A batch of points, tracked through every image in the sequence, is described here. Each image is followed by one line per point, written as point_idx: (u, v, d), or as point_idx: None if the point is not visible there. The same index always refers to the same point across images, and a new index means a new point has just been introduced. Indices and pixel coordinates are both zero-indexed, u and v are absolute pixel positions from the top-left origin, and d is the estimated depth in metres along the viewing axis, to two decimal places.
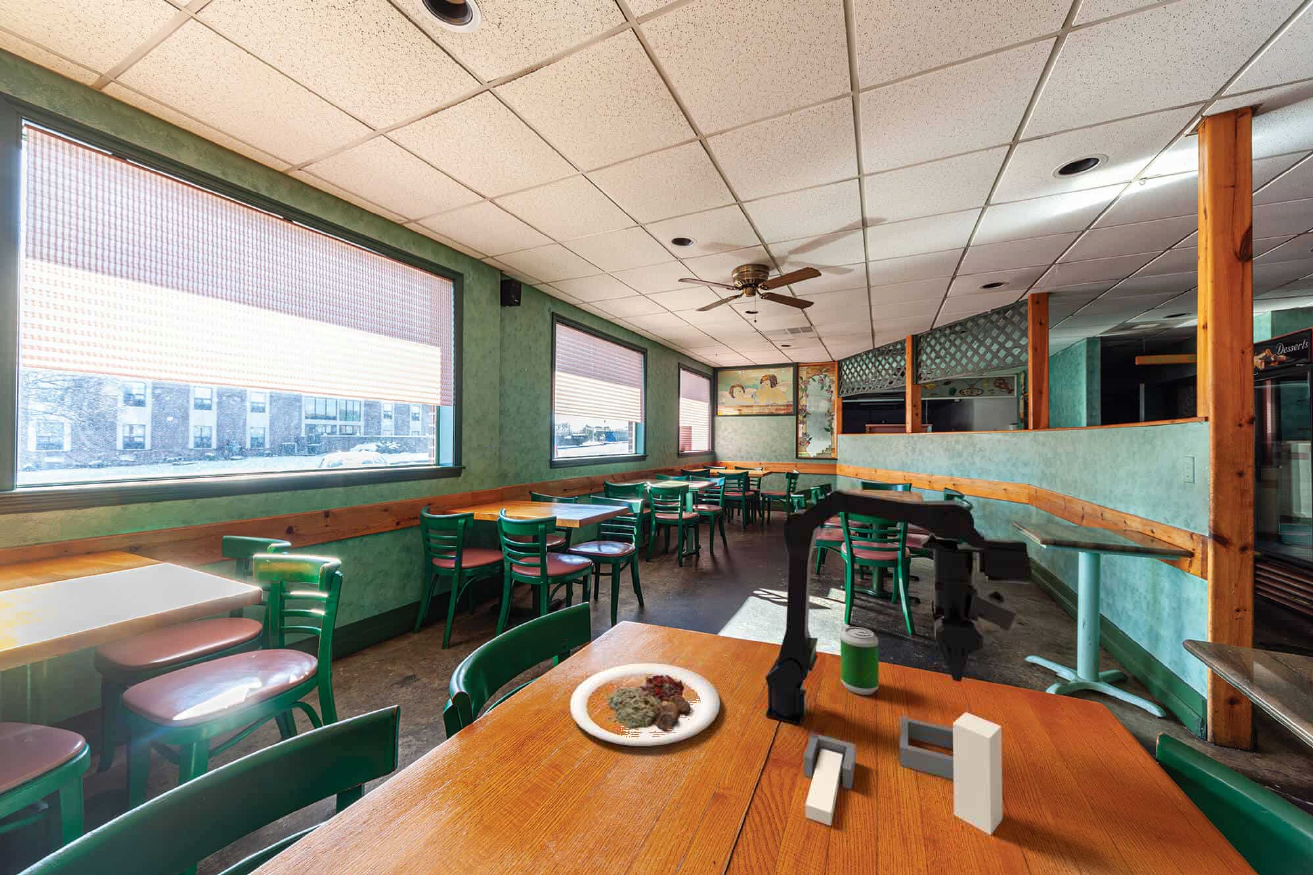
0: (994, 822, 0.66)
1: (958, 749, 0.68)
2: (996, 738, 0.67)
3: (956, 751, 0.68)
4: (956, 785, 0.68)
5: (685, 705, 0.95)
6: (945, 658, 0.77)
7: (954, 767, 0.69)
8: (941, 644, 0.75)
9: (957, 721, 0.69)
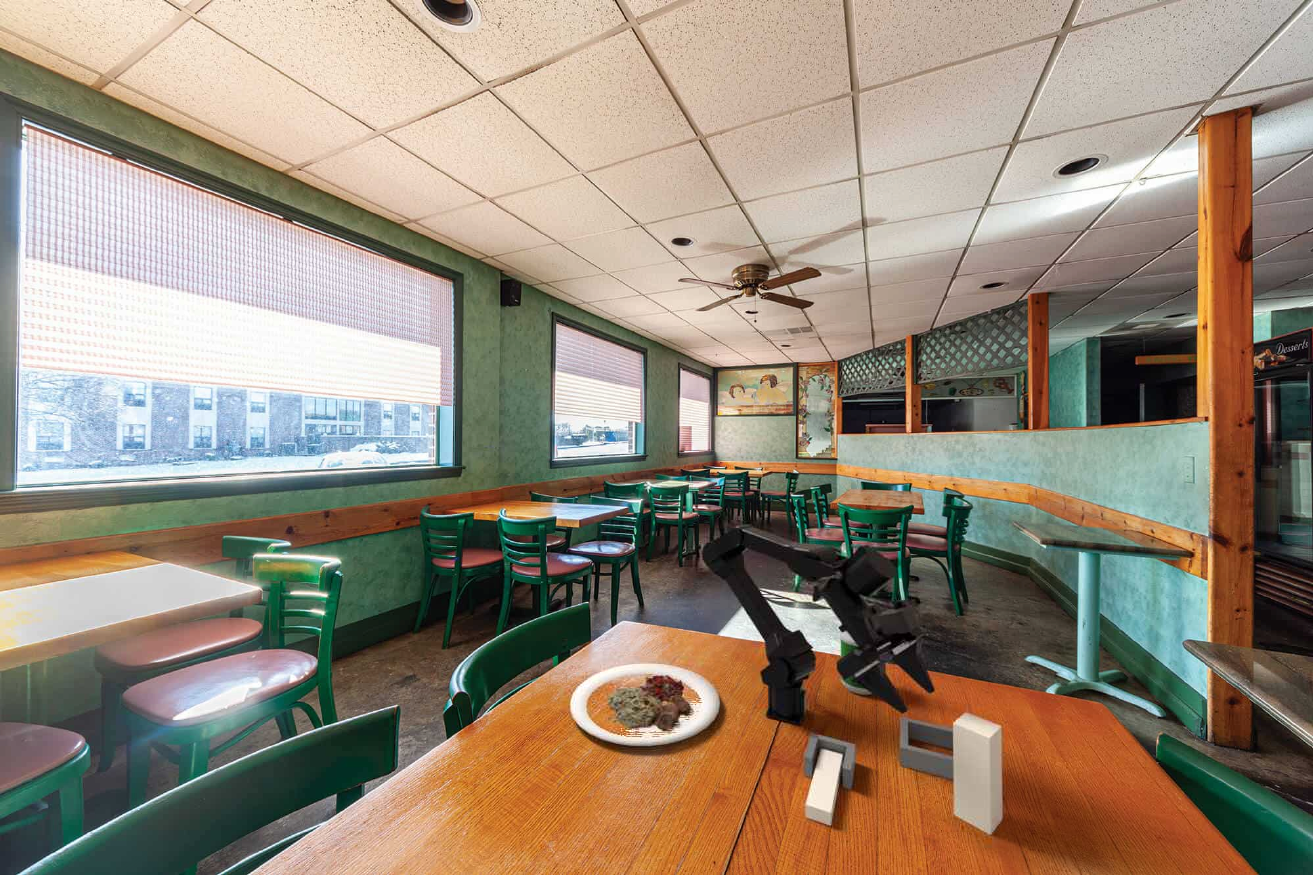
0: (994, 822, 0.66)
1: (958, 749, 0.68)
2: (996, 738, 0.67)
3: (956, 751, 0.68)
4: (956, 785, 0.68)
5: (685, 705, 0.95)
6: (876, 694, 0.74)
7: (954, 767, 0.69)
8: (853, 681, 0.75)
9: (957, 721, 0.69)
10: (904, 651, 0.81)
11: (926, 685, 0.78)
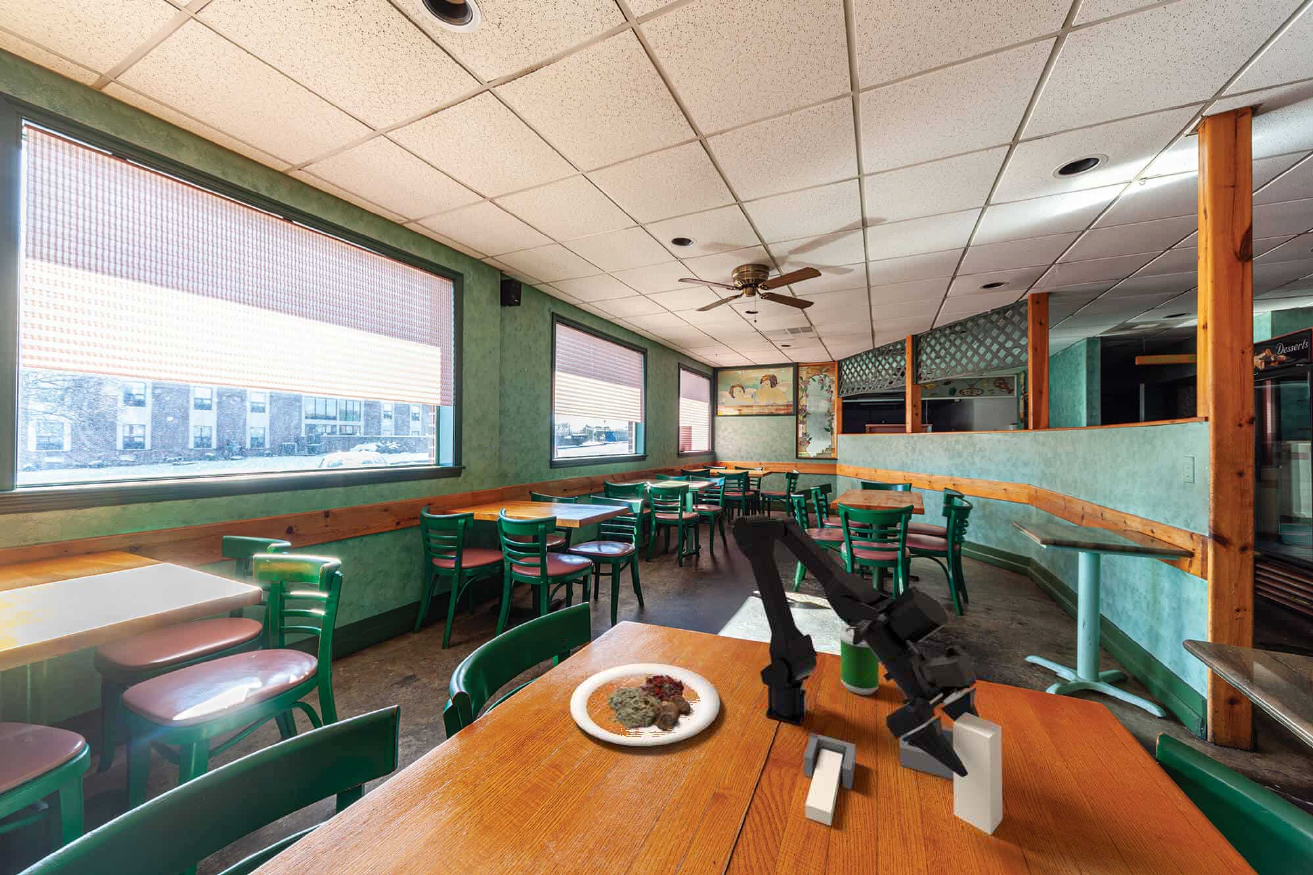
0: (994, 822, 0.66)
1: (958, 749, 0.68)
2: (996, 738, 0.67)
3: (956, 751, 0.68)
4: (956, 785, 0.68)
5: (685, 705, 0.95)
6: (931, 754, 0.68)
7: None
8: (905, 740, 0.68)
9: (957, 721, 0.69)
10: (956, 701, 0.75)
11: None
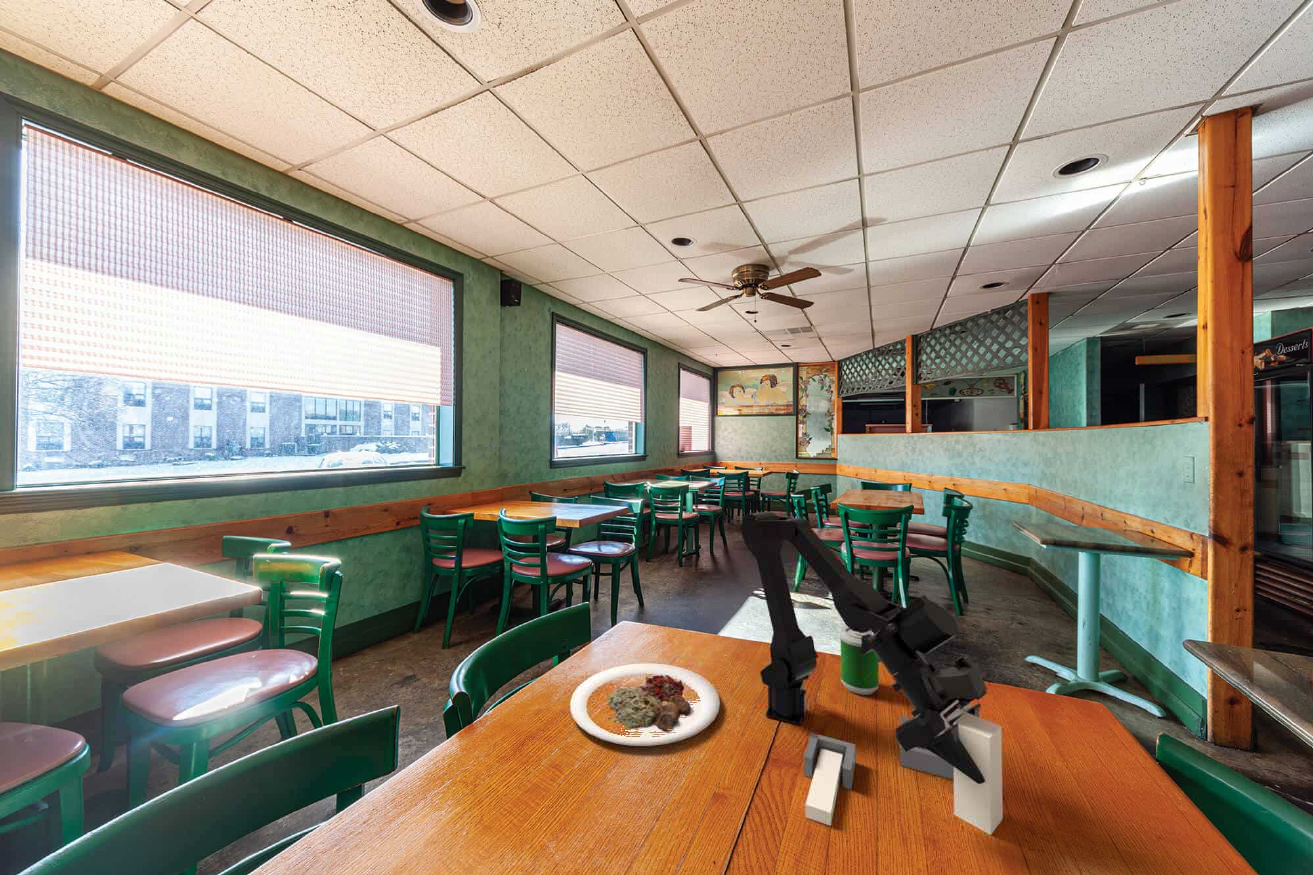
0: (994, 822, 0.66)
1: None
2: (996, 738, 0.67)
3: None
4: (956, 785, 0.68)
5: (685, 705, 0.95)
6: (947, 761, 0.68)
7: (954, 767, 0.68)
8: (922, 746, 0.69)
9: (957, 721, 0.69)
10: None
11: None
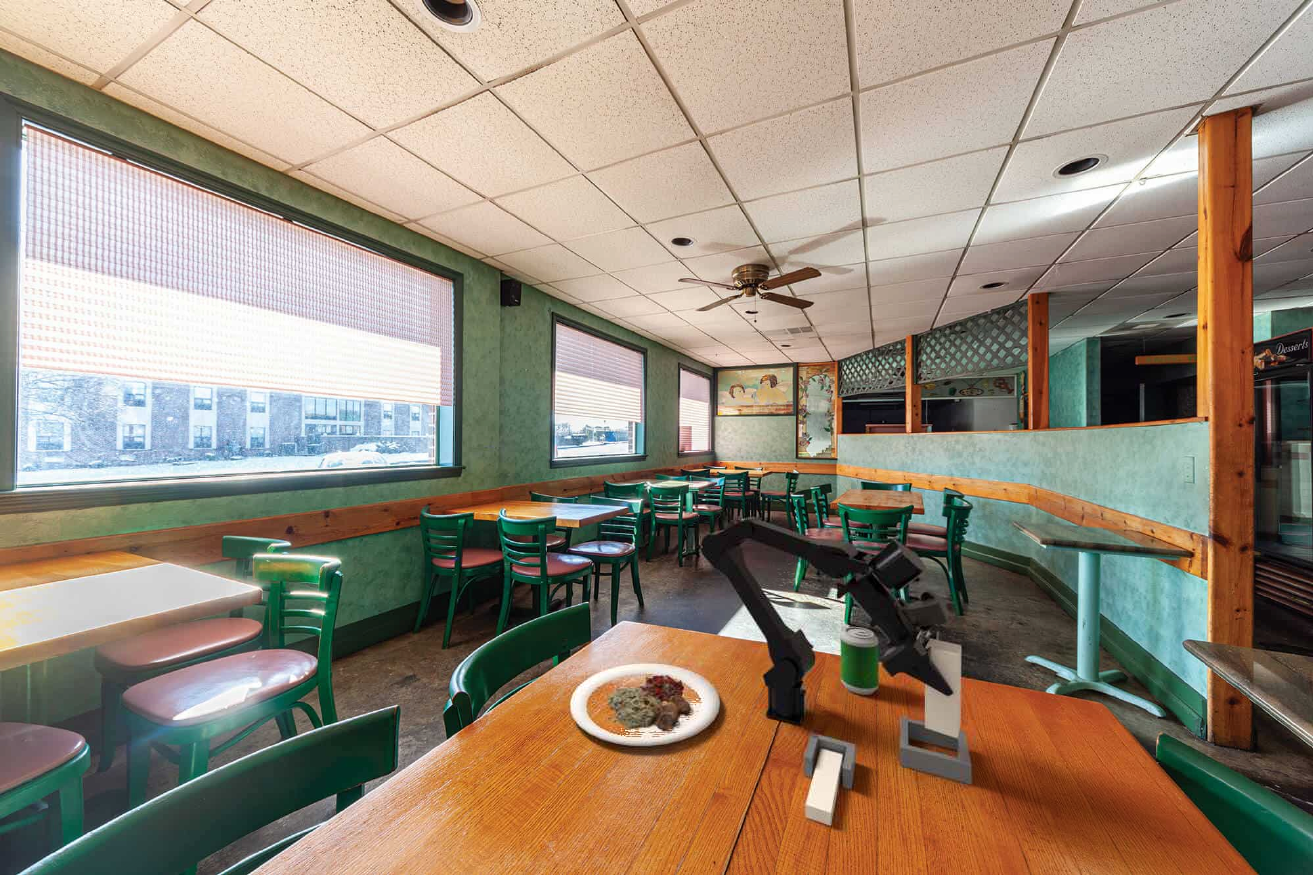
0: (958, 727, 0.76)
1: None
2: (959, 655, 0.77)
3: None
4: (927, 701, 0.78)
5: (685, 705, 0.95)
6: (922, 680, 0.77)
7: (926, 686, 0.78)
8: (902, 671, 0.77)
9: (928, 645, 0.78)
10: (923, 644, 0.83)
11: None
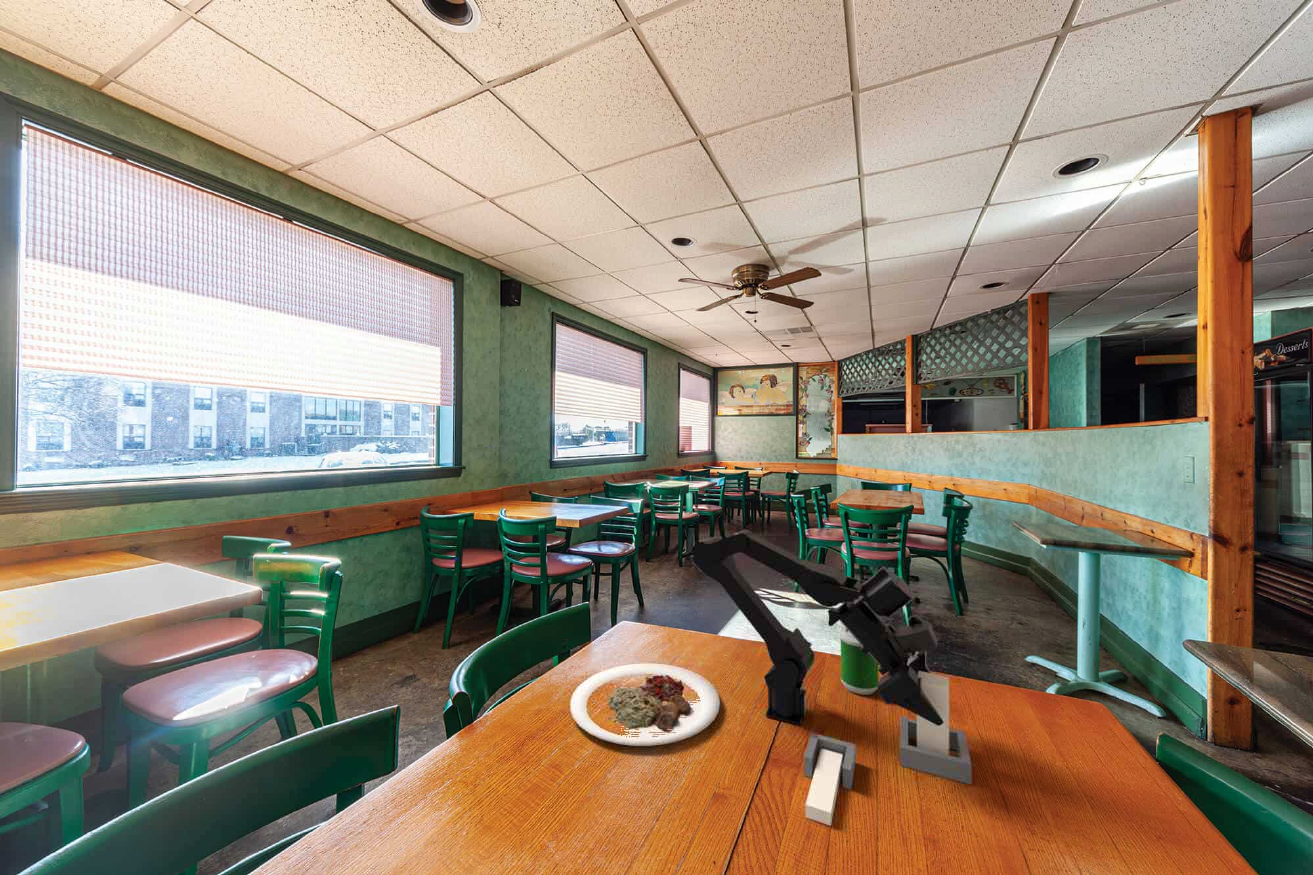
0: None
1: None
2: (948, 687, 0.80)
3: None
4: (919, 734, 0.80)
5: (685, 705, 0.95)
6: (913, 711, 0.78)
7: (917, 719, 0.80)
8: (894, 703, 0.77)
9: None
10: (913, 664, 0.87)
11: None
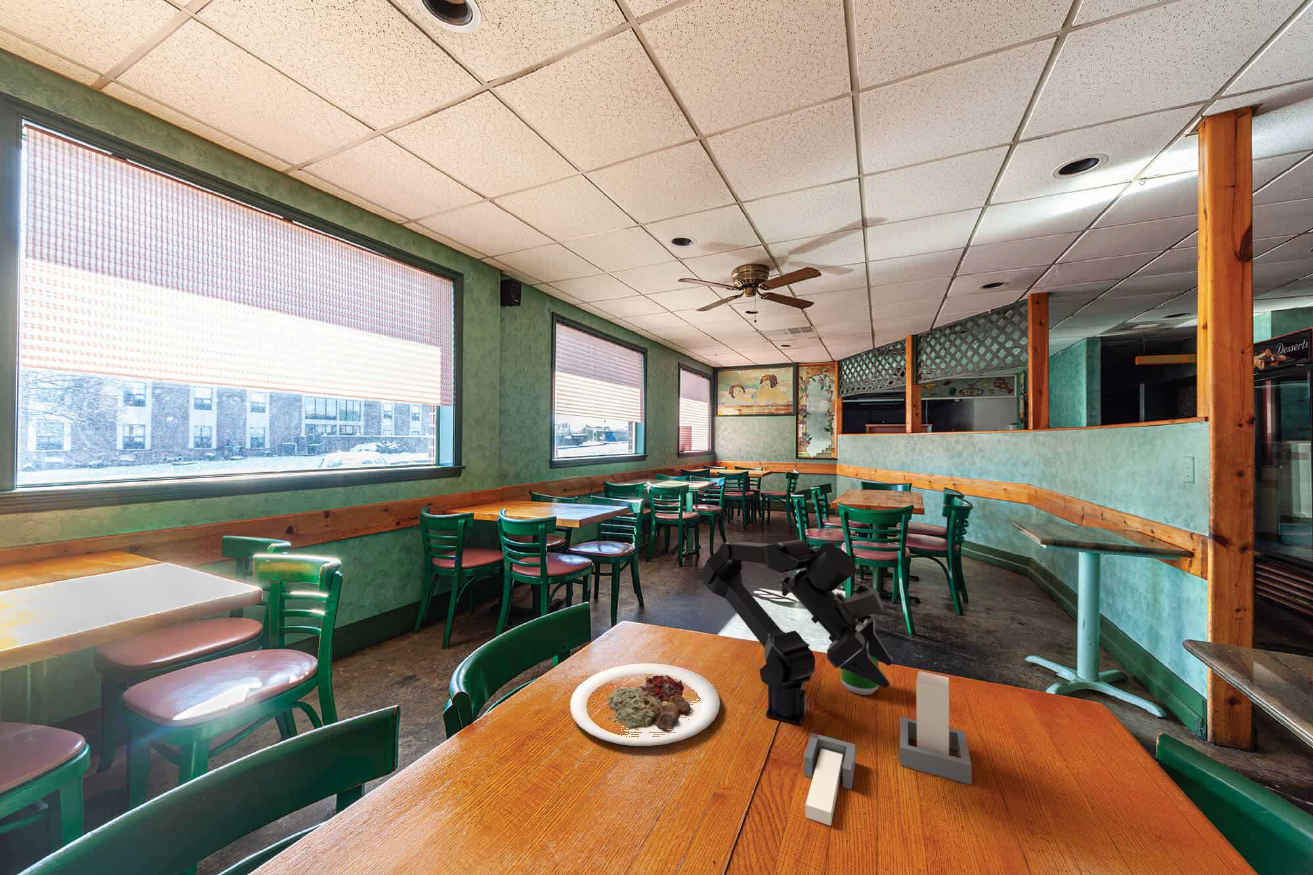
0: None
1: (921, 703, 0.80)
2: None
3: (919, 705, 0.80)
4: (919, 734, 0.80)
5: (685, 705, 0.95)
6: (861, 675, 0.79)
7: (917, 719, 0.80)
8: (843, 667, 0.78)
9: (918, 679, 0.81)
10: (862, 631, 0.89)
11: (885, 659, 0.87)
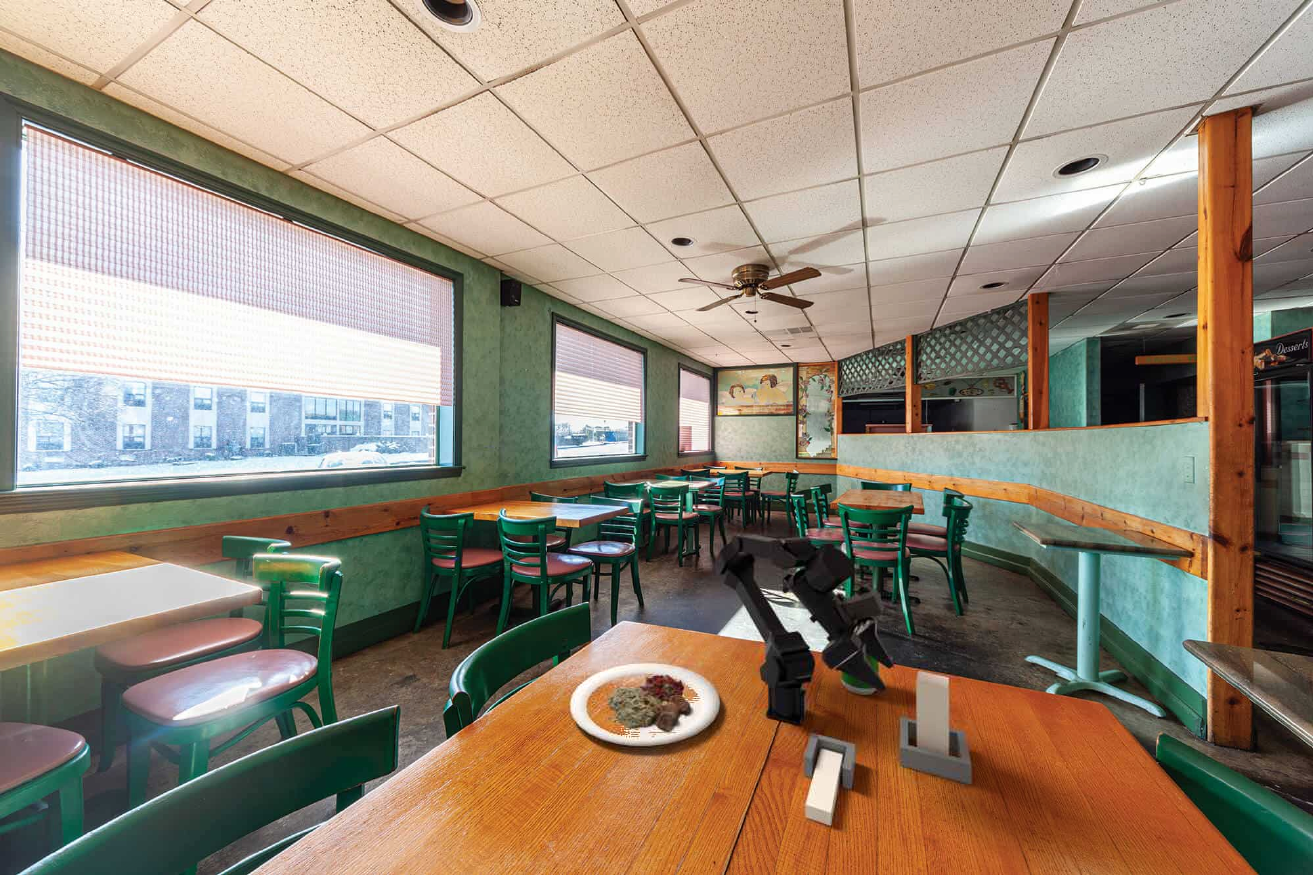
0: None
1: (921, 703, 0.80)
2: (948, 688, 0.80)
3: (919, 705, 0.80)
4: (919, 734, 0.80)
5: (685, 705, 0.95)
6: (857, 677, 0.78)
7: (917, 719, 0.80)
8: (838, 669, 0.77)
9: (918, 679, 0.81)
10: (863, 633, 0.87)
11: (886, 661, 0.85)
